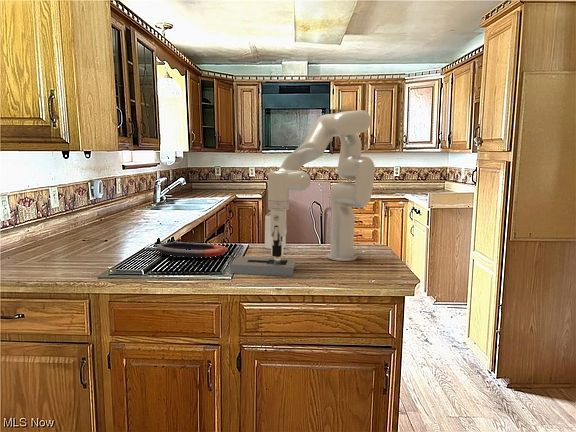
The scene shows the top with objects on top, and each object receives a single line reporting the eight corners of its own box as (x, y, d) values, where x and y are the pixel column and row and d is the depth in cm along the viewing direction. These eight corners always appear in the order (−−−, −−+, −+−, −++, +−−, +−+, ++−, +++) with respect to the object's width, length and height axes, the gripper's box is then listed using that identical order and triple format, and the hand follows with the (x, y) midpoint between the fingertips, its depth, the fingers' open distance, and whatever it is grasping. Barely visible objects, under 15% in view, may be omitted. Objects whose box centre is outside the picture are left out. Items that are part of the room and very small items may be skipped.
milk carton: (264, 248, 196) (265, 207, 194) (272, 245, 203) (272, 205, 200) (278, 250, 193) (278, 208, 190) (285, 247, 199) (286, 206, 197)
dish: (167, 249, 190) (167, 238, 190) (233, 255, 183) (233, 243, 183) (148, 257, 175) (148, 245, 175) (219, 263, 168) (219, 251, 168)
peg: (284, 268, 161) (284, 239, 159) (282, 271, 156) (283, 241, 155) (271, 267, 161) (272, 238, 160) (269, 271, 157) (270, 241, 155)
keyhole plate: (294, 267, 165) (295, 258, 164) (291, 276, 152) (291, 267, 151) (238, 264, 167) (238, 256, 166) (230, 273, 154) (230, 264, 154)
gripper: (286, 208, 147) (285, 260, 149) (291, 203, 163) (290, 250, 166) (264, 207, 148) (263, 259, 150) (271, 202, 164) (270, 249, 167)
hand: (277, 254), depth 158 cm, fingers closed on peg, 4 cm apart
